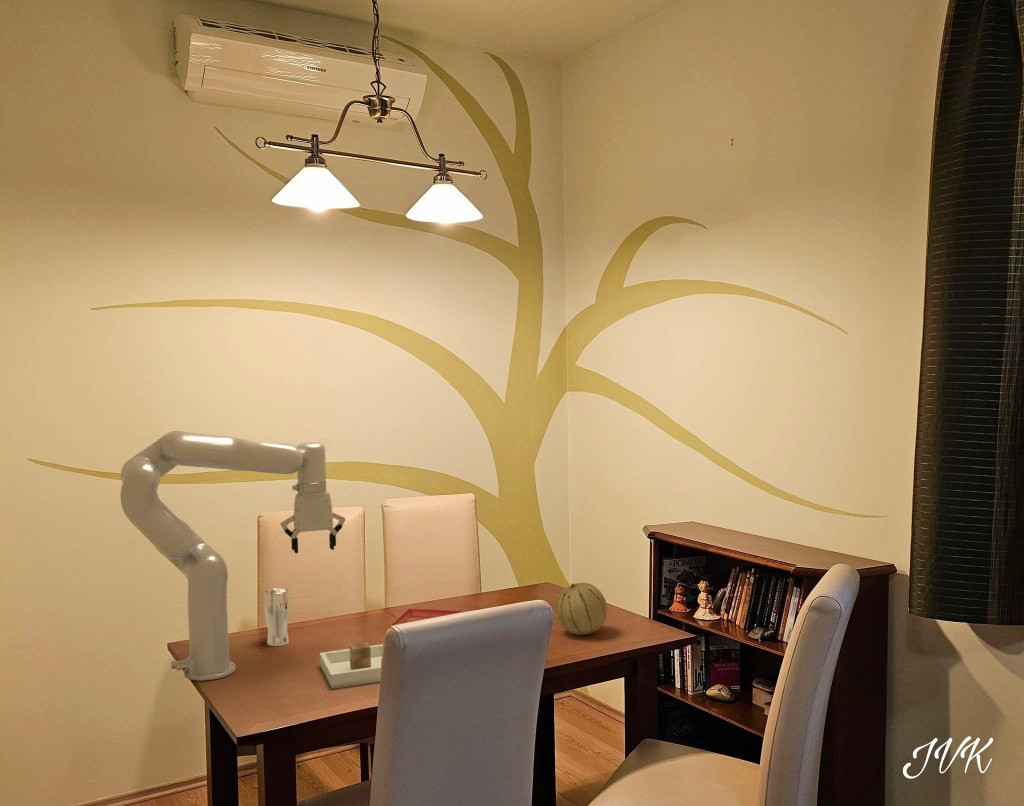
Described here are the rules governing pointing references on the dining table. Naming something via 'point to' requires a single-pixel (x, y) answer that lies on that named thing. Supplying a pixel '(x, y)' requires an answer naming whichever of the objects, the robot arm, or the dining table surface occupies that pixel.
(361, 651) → the block
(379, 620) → the dining table surface
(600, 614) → the cantaloupe
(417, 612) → the plant saucer
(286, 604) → the beer glass
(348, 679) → the tray
